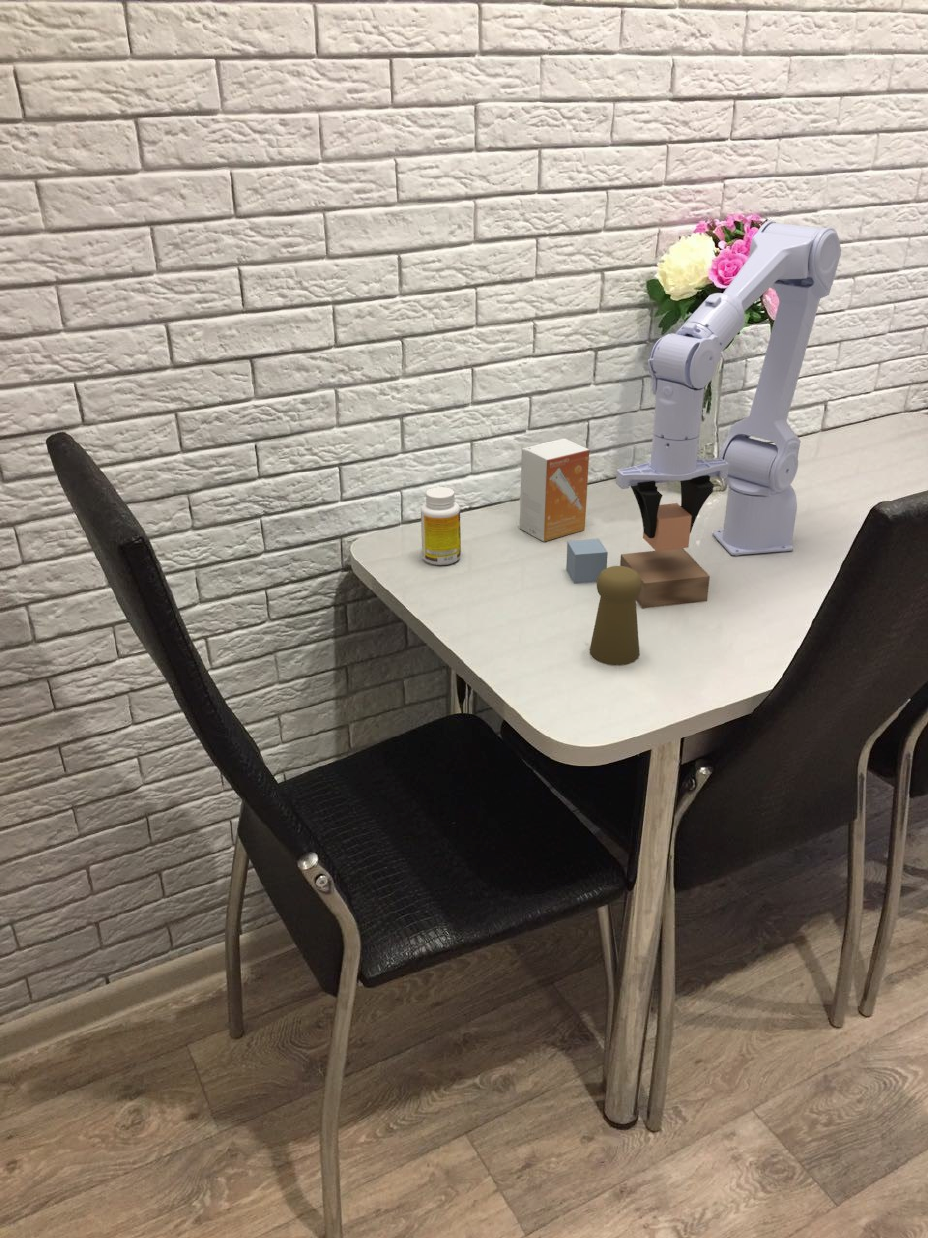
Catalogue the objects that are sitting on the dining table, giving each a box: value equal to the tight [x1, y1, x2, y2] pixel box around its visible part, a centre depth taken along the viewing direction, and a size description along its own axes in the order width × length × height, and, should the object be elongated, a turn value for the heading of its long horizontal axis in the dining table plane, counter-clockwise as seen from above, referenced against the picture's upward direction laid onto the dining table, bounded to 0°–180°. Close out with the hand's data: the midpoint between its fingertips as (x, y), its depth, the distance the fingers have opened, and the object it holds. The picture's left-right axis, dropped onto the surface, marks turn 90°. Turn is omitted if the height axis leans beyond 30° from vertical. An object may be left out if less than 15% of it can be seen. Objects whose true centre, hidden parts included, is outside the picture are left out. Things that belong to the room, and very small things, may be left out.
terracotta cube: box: [642, 502, 692, 552], centre depth 135 cm, size 4×4×4 cm
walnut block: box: [619, 548, 711, 610], centre depth 139 cm, size 9×9×4 cm
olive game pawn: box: [589, 565, 642, 666], centre depth 122 cm, size 6×6×11 cm
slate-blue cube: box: [565, 538, 609, 585], centre depth 143 cm, size 4×4×4 cm
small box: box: [519, 437, 590, 542], centre depth 154 cm, size 8×6×13 cm
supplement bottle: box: [420, 486, 462, 566], centre depth 146 cm, size 6×6×10 cm
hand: (667, 532), depth 136 cm, fingers closed on terracotta cube, 4 cm apart
